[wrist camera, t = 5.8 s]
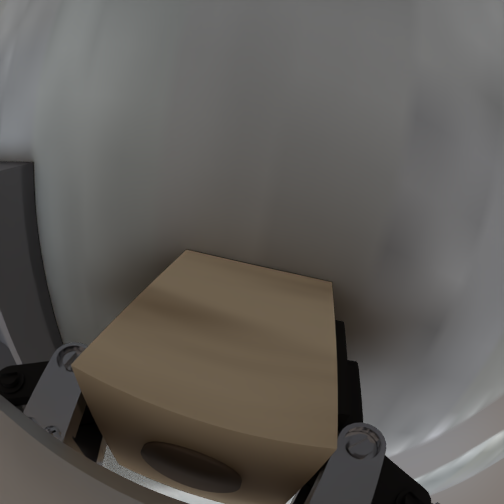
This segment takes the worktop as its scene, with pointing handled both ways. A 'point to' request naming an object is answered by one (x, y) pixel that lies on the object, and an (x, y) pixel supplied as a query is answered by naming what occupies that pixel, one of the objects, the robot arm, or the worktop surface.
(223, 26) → the worktop surface
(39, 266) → the tray
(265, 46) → the worktop surface
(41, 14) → the worktop surface
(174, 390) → the maple block
